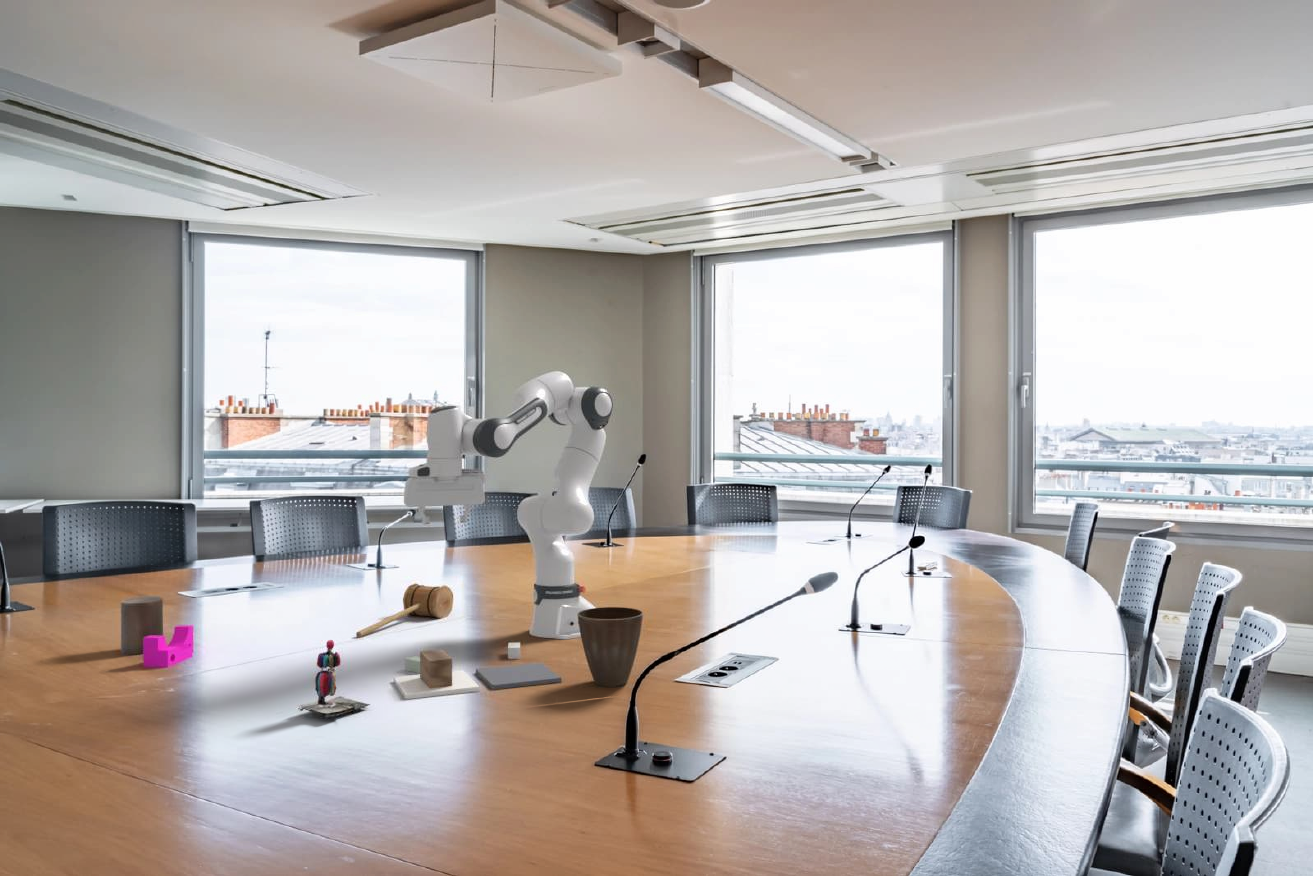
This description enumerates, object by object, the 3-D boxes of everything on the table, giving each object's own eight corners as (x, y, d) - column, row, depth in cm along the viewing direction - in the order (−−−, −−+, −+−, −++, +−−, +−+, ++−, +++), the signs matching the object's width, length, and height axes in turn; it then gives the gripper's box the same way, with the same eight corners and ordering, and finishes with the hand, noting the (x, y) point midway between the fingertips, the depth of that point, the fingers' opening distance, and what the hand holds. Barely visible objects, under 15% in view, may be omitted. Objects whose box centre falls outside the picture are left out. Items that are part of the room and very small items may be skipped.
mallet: (342, 650, 266) (339, 615, 265) (422, 610, 301) (420, 579, 300) (378, 654, 262) (375, 618, 261) (455, 613, 296) (453, 582, 295)
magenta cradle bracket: (167, 669, 231) (167, 638, 231) (143, 668, 231) (143, 637, 231) (202, 654, 246) (202, 625, 246) (179, 654, 246) (179, 625, 246)
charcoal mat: (540, 666, 233) (540, 662, 233) (561, 682, 219) (561, 677, 219) (475, 673, 227) (475, 668, 227) (492, 689, 212) (492, 685, 212)
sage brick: (405, 670, 230) (404, 658, 230) (414, 668, 232) (414, 656, 232) (422, 674, 226) (422, 661, 226) (431, 671, 229) (431, 659, 229)
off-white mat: (463, 674, 225) (463, 670, 225) (479, 691, 211) (479, 686, 211) (393, 681, 219) (393, 677, 219) (405, 699, 204) (405, 694, 204)
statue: (327, 723, 188) (327, 647, 188) (296, 716, 193) (296, 641, 193) (370, 710, 197) (370, 637, 197) (340, 703, 202) (340, 632, 202)
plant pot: (593, 694, 208) (593, 621, 208) (567, 679, 221) (567, 610, 221) (654, 686, 215) (654, 615, 215) (625, 671, 228) (625, 604, 228)
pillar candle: (169, 652, 248) (169, 594, 248) (128, 658, 241) (128, 599, 241) (155, 646, 254) (154, 590, 254) (114, 652, 247) (114, 594, 247)
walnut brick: (442, 675, 220) (442, 649, 220) (452, 685, 211) (452, 658, 211) (420, 677, 218) (420, 651, 218) (429, 688, 209) (429, 661, 209)
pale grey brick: (508, 654, 247) (508, 642, 247) (520, 654, 247) (520, 642, 247) (507, 660, 241) (507, 648, 241) (520, 659, 241) (520, 647, 241)
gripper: (481, 467, 251) (482, 520, 251) (402, 469, 243) (402, 524, 243) (487, 468, 245) (488, 522, 246) (406, 470, 237) (406, 526, 237)
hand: (444, 523), depth 244 cm, fingers open, 8 cm apart
